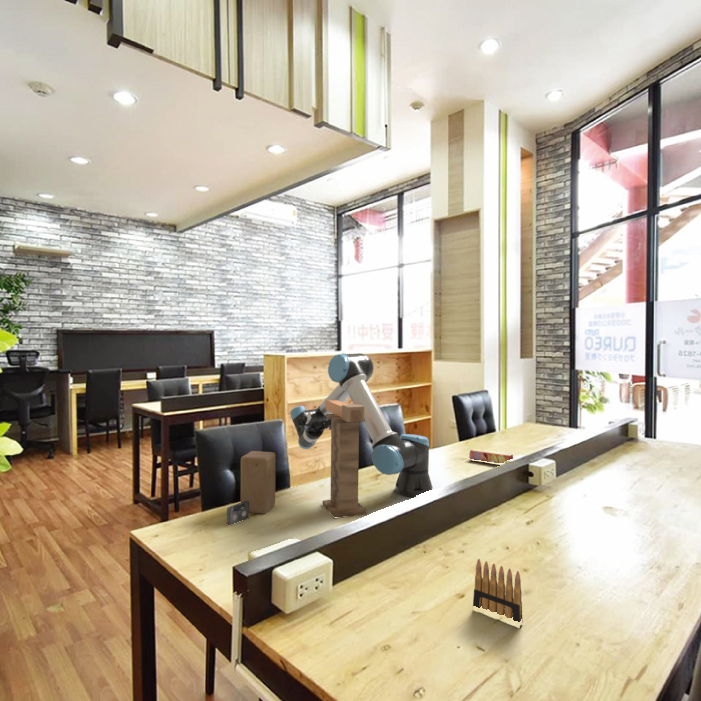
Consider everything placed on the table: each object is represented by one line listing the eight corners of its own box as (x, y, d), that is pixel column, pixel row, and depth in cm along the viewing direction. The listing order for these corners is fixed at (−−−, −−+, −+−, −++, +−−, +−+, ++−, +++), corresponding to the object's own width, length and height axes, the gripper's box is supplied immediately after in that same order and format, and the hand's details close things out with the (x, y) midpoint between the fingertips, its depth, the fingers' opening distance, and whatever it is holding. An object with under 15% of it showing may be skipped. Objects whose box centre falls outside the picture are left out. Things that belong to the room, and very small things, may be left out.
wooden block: (265, 515, 160) (266, 458, 160) (239, 512, 162) (239, 456, 162) (276, 505, 170) (276, 451, 170) (250, 502, 172) (251, 450, 172)
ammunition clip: (472, 610, 105) (473, 559, 104) (475, 607, 106) (476, 556, 106) (519, 629, 98) (521, 574, 98) (522, 625, 100) (523, 570, 99)
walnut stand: (322, 504, 171) (323, 414, 170) (352, 500, 175) (353, 412, 175) (334, 518, 158) (335, 420, 157) (366, 514, 162) (367, 418, 162)
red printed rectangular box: (468, 461, 236) (468, 448, 235) (473, 459, 241) (473, 446, 241) (509, 469, 223) (510, 455, 223) (514, 466, 228) (514, 452, 228)
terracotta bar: (322, 409, 181) (323, 397, 181) (337, 409, 183) (337, 396, 183) (347, 422, 155) (348, 407, 155) (364, 421, 157) (364, 406, 157)
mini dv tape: (245, 517, 158) (245, 500, 158) (248, 518, 157) (248, 501, 157) (226, 525, 152) (226, 507, 151) (229, 526, 151) (229, 508, 151)
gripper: (341, 437, 206) (356, 421, 189) (286, 441, 197) (297, 424, 180) (338, 422, 209) (353, 404, 192) (284, 425, 201) (295, 406, 183)
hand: (326, 414), depth 186 cm, fingers open, 13 cm apart
